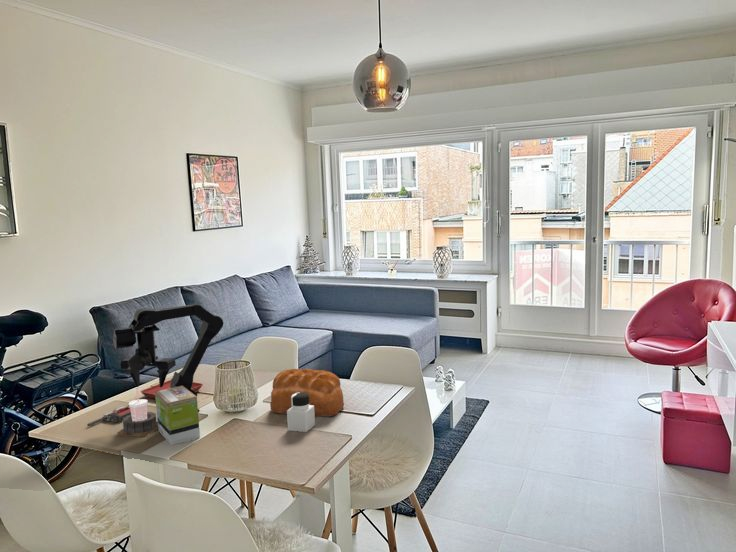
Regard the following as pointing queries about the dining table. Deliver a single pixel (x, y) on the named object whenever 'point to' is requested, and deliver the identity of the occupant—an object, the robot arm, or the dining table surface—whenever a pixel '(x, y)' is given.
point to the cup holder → (139, 426)
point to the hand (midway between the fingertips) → (149, 386)
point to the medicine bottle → (300, 413)
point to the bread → (308, 391)
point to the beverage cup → (138, 409)
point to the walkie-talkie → (114, 415)
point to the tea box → (177, 414)
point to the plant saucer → (151, 391)
